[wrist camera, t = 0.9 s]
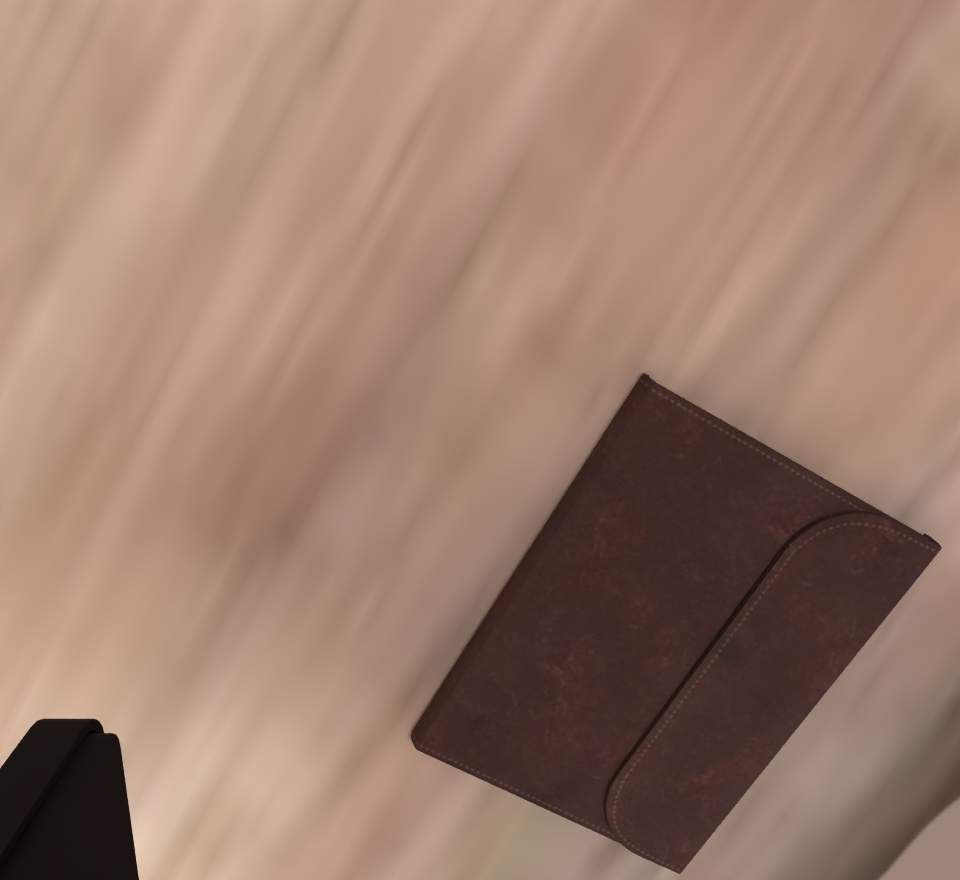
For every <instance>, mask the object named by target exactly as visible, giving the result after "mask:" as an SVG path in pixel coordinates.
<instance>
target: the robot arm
mask: <svg viewBox="0 0 960 880" xmlns="http://www.w3.org/2000/svg"><path fill="white" fill-rule="evenodd" d="M0 880H139V877H138V870H137V863H136V856H135V848H134V841H133V834H132V827H131V819H130V812H129V805H128V798H127V791H126V783H125V776H124V769H123V762H122V754H121V747H120V742H119V739H118V737H117V735H116V734H113V733H104V731H103V727H102V725H101V723H100V722H99V721H98V720H96V719H41V720H38V721H36V723H35V724H34V725H33V726H32V727H31V728H30V729H29V730H28V732H27V733H26V734H25V736H24V737H23V738H22V740H21V741H20V743H19V744H18V745H17V747H16V748H15V749H14V751H13V752H12V753H11V755H10V756H9V757H8V759H7V760H6V761H5V763H4V764H3V765H2V767H1V768H0Z"/></svg>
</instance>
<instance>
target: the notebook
mask: <svg viewBox="0 0 960 880" xmlns="http://www.w3.org/2000/svg"><path fill="white" fill-rule="evenodd" d="M941 548H942V547H941V546H940V545H939V544H938V543H937V542H936V541H935V540H934V539H932V538H931V537H930V536H928V535H926V534H923V535H922V534H920V533H918V532H917V531H915V530H913V529H911V528H910V527H908V526H906V525H904V524H903V523H901V522H899V521H897V520H896V519H894V518H892V517H890V516H889V515H887V514H885V513H883V512H882V511H880V510H878V509H876V508H875V507H873V506H871V505H869V504H868V503H866V502H864V501H862V500H861V499H859V498H857V497H855V496H854V495H852V494H850V493H848V492H847V491H845V490H843V489H841V488H840V487H838V486H836V485H834V484H833V483H831V482H829V481H827V480H826V479H824V478H822V477H820V476H819V475H817V474H815V473H813V472H812V471H810V470H808V469H806V468H805V467H803V466H801V465H799V464H798V463H796V462H794V461H792V460H791V459H789V458H787V457H785V456H784V455H782V454H780V453H778V452H777V451H775V450H773V449H771V448H770V447H768V446H766V445H764V444H763V443H761V442H759V441H757V440H756V439H754V438H752V437H750V436H749V435H747V434H745V433H743V432H742V431H740V430H738V429H736V428H735V427H733V426H731V425H729V424H728V423H726V422H724V421H722V420H721V419H719V418H717V417H715V416H714V415H712V414H710V413H708V412H707V411H705V410H703V409H701V408H700V407H698V406H696V405H694V404H693V403H691V402H689V401H687V400H686V399H684V398H682V397H680V396H679V395H677V394H675V393H673V392H672V391H670V390H668V389H666V388H665V387H663V386H661V385H659V384H658V383H656V382H655V381H653V380H652V379H651V378H650V377H649V375H646V374H645V373H643V375H642V376H641V378H640V379H639V381H638V382H637V384H636V385H635V387H634V389H633V390H632V392H631V393H630V395H629V396H628V398H627V399H626V401H625V403H624V404H623V406H622V407H621V409H620V410H619V412H618V413H617V415H616V417H615V418H614V420H613V421H612V423H611V424H610V426H609V427H608V429H607V430H606V432H605V434H604V435H603V437H602V438H601V440H600V441H599V443H598V444H597V446H596V448H595V449H594V451H593V452H592V454H591V455H590V457H589V458H588V460H587V462H586V463H585V465H584V466H583V468H582V469H581V471H580V472H579V474H578V475H577V477H576V479H575V480H574V482H573V483H572V485H571V486H570V488H569V489H568V491H567V493H566V494H565V496H564V497H563V499H562V500H561V502H560V503H559V505H558V506H557V508H556V510H555V511H554V513H553V514H552V516H551V517H550V519H549V520H548V522H547V524H546V525H545V527H544V528H543V530H542V531H541V533H540V534H539V536H538V538H537V539H536V541H535V542H534V544H533V545H532V547H531V548H530V550H529V551H528V553H527V555H526V556H525V558H524V559H523V561H522V562H521V564H520V565H519V567H518V569H517V570H516V572H515V573H514V575H513V576H512V578H511V579H510V581H509V583H508V584H507V586H506V587H505V589H504V590H503V592H502V593H501V595H500V596H499V598H498V600H497V601H496V603H495V604H494V606H493V607H492V609H491V610H490V612H489V614H488V615H487V617H486V618H485V620H484V621H483V623H482V624H481V626H480V627H479V629H478V631H477V632H476V634H475V635H474V637H473V638H472V640H471V641H470V643H469V645H468V646H467V648H466V649H465V651H464V652H463V654H462V655H461V657H460V659H459V660H458V662H457V663H456V665H455V666H454V668H453V669H452V671H451V672H450V674H449V676H448V677H447V679H446V680H445V682H444V683H443V685H442V686H441V688H440V690H439V691H438V693H437V694H436V696H435V697H434V699H433V700H432V702H431V703H430V705H429V707H428V708H427V710H426V711H425V713H424V714H423V716H422V717H421V719H420V721H419V722H418V724H417V725H416V727H415V728H414V730H413V731H412V734H411V739H412V742H413V744H414V746H415V748H416V749H417V750H419V751H421V752H423V753H425V754H427V755H429V756H432V757H434V758H436V759H438V760H440V761H442V762H445V763H447V764H449V765H451V766H453V767H456V768H458V769H460V770H462V771H464V772H466V773H469V774H471V775H473V776H475V777H477V778H479V779H482V780H484V781H486V782H488V783H490V784H492V785H495V786H497V787H499V788H501V789H503V790H506V791H508V792H510V793H512V794H514V795H516V796H519V797H521V798H523V799H525V800H527V801H529V802H532V803H534V804H536V805H538V806H540V807H543V808H545V809H547V810H549V811H551V812H553V813H556V814H558V815H560V816H562V817H564V818H566V819H569V820H571V821H573V822H575V823H577V824H580V825H582V826H584V827H586V828H588V829H590V830H593V831H595V832H597V833H599V834H601V835H603V836H606V837H608V838H610V839H612V840H614V841H617V842H619V843H621V844H622V845H623V846H624V847H626V848H627V849H628V850H630V851H631V852H633V853H635V854H637V855H639V856H641V857H643V858H645V859H647V860H650V861H652V862H654V863H656V864H659V865H661V866H663V867H665V868H667V869H670V870H672V871H674V872H676V873H679V874H680V873H681V872H682V871H683V870H684V869H685V867H686V866H687V865H688V864H689V862H690V861H691V860H692V859H693V857H694V856H695V855H696V854H697V852H698V851H699V850H700V849H701V847H702V846H703V845H704V844H705V842H706V841H707V840H708V839H709V837H710V836H711V835H712V834H713V832H714V831H715V830H716V829H717V827H718V826H719V825H720V824H721V823H722V821H723V820H724V819H725V818H726V816H727V815H728V814H729V813H730V811H731V810H732V809H733V808H734V806H735V805H736V804H737V803H738V801H739V800H740V799H741V798H742V796H743V795H744V794H745V793H746V791H747V790H748V789H749V788H750V786H751V785H752V784H753V783H754V781H755V780H756V779H757V778H758V776H759V775H760V774H761V773H762V771H763V770H764V769H765V768H766V766H767V765H768V764H769V763H770V761H771V760H772V759H773V758H774V756H775V755H776V754H777V753H778V751H779V750H780V749H781V748H782V747H783V745H784V744H785V743H786V742H787V740H788V739H789V738H790V737H791V735H792V734H793V733H794V732H795V730H796V729H797V728H798V727H799V725H800V724H801V723H802V722H803V720H804V719H805V718H806V717H807V715H808V714H809V713H810V712H811V710H812V709H813V708H814V707H815V705H816V704H817V703H818V702H819V700H820V699H821V698H822V697H823V695H824V694H825V693H826V692H827V690H828V689H829V688H830V687H831V685H832V684H833V683H834V682H835V680H836V679H837V678H838V677H839V676H840V674H841V673H842V672H843V671H844V669H845V668H846V667H847V666H848V664H849V663H850V662H851V661H852V659H853V658H854V657H855V656H856V654H857V653H858V652H859V651H860V649H861V648H862V647H863V646H864V644H865V643H866V642H867V641H868V639H869V638H870V637H871V636H872V634H873V633H874V632H875V631H876V629H877V628H878V627H879V626H880V624H881V623H882V622H883V621H884V619H885V618H886V617H887V616H888V614H889V613H890V612H891V611H892V609H893V608H894V607H895V606H896V604H897V603H898V602H899V601H900V600H901V598H902V597H903V596H904V595H905V593H906V592H907V591H908V590H909V588H910V587H911V586H912V585H913V583H914V582H915V581H916V580H917V578H918V577H919V576H920V575H921V573H922V572H923V571H924V570H925V568H926V567H927V566H928V565H929V563H930V562H931V561H932V560H933V558H934V557H935V556H936V555H937V553H938V552H939V551H940V550H941Z"/></svg>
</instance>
